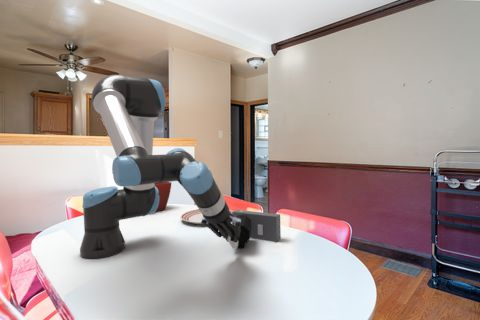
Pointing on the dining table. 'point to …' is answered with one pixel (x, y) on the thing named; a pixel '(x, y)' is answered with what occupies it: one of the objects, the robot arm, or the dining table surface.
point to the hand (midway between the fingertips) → (235, 244)
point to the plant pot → (163, 194)
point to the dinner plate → (194, 216)
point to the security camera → (244, 230)
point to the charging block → (262, 225)
